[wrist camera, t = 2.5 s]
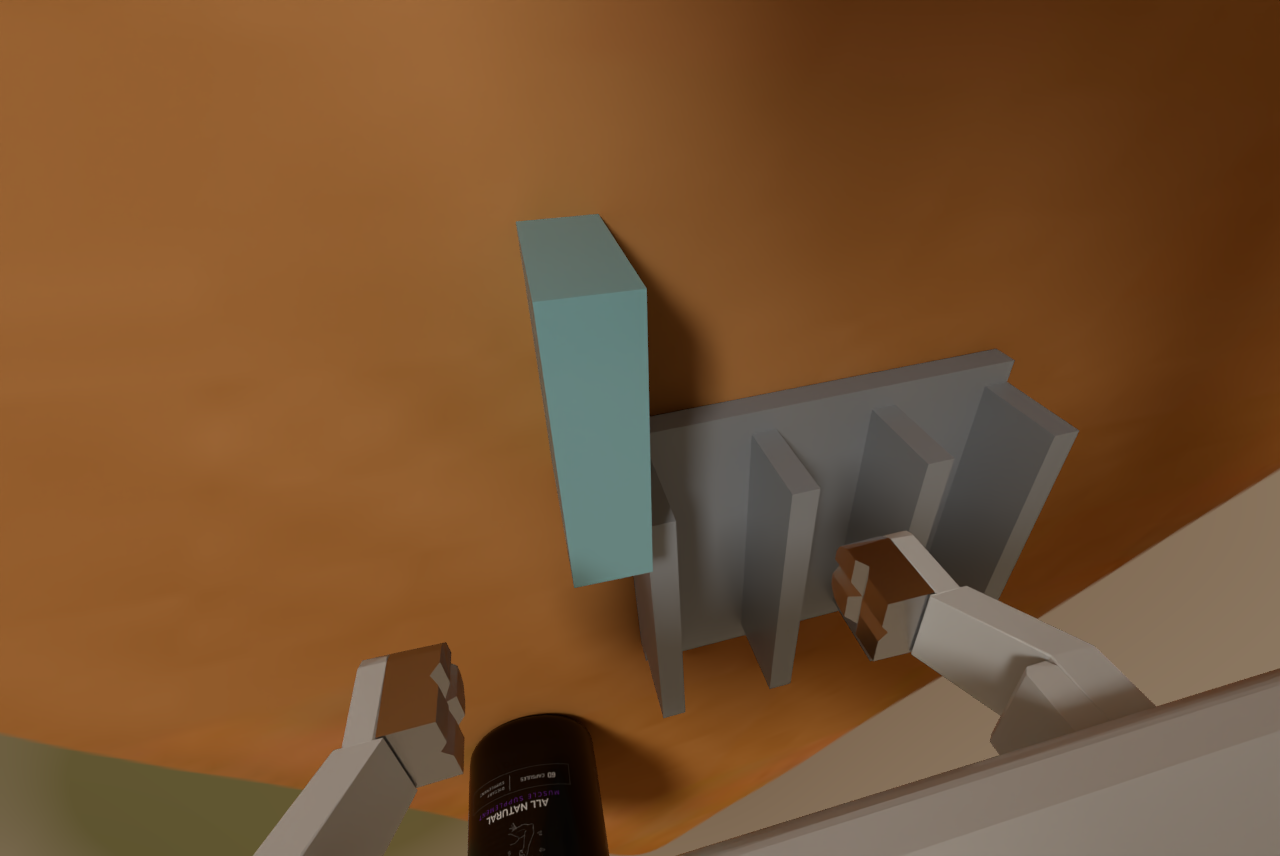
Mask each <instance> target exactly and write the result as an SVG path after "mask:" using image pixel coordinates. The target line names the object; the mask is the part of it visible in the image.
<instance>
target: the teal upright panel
mask: <svg viewBox="0 0 1280 856" xmlns="http://www.w3.org/2000/svg"><path fill="white" fill-rule="evenodd" d="M516 226H517V233H518V239H519V246H520V253H521V259H522V266H523V272H524V279H525V286H526V292H527V299H528V305H529V312H530V319H531V325H532V332H533V339H534V345H535V352H536V358H537V365H538V372H539V378H540V385H541V391H542V398H543V405H544V411H545V418H546V425H547V431H548V438H549V444H550V451H551V458H552V464H553V470H554V476H555V481H556V487H557V493H558V498H559V504H560V510H561V516H562V521H563V527H564V533H565V538H566V544H567V550H568V555H569V561H570V567H571V572H572V578H573V584H574V588H576V587H581V586H586V585H591V584H596V583H601V582H606V581H610V580H615V579H620V578H625V577H630V576H635V575H640V574H644V573H649V572H653V558H652V512H651V465H650V419H649V373H648V327H647V288H646V287H645V285H644V284H643V282H642V281H641V279H640V278H639V276H638V274H637V273H636V271H635V270H634V268H633V267H632V265H631V264H630V262H629V261H628V259H627V257H626V256H625V254H624V253H623V251H622V250H621V248H620V247H619V245H618V243H617V242H616V240H615V239H614V237H613V236H612V234H611V233H610V231H609V230H608V228H607V226H606V225H605V223H604V222H603V220H602V219H601V217H600V216H599V214H593V215H583V216H572V217H561V218H550V219H540V220H529V221H518V222H516Z"/></svg>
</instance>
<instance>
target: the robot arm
mask: <svg viewBox="0 0 1280 856" xmlns="http://www.w3.org/2000/svg"><path fill="white" fill-rule="evenodd" d="M835 559H836V561H837V562H838V564H839V567H838V568H837V569H836V570H835V571H834V572H833V574H832V583H831V585H832V590H833V595H834V598H835V600H836V603H837V605H838V607H839V609H840V610H841V612H842V613H843V615H844V616H845V617H846V618H848V619H850V620H852V621H853V622H855V623H857V626H856V635H857V637H858V639H859V640H860V642H861V643H862V645H863V646H864V648H865V649H866V651H867V652H868V654H869V655H870V657H871V659H872V660H873V661H876V660H880V659H884V658H888V657H893V656H897V655H901V654H905V653H909V652H912V653H911V654H912V655H913V656H914V657H916V658H917V659H919V660H920V661H922V662H923V663H925V664H926V665H928V666H929V667H930V668H932V669H933V670H935V671H936V672H938V673H939V674H941V675H942V676H944V677H945V678H946V679H948V680H949V681H951V682H952V683H954V684H955V685H957V686H958V687H959V688H961V689H962V690H964V691H965V692H967V693H968V694H970V695H971V696H973V697H974V698H975V699H977V700H978V701H980V702H981V703H983V704H984V705H986V706H987V707H989V708H990V709H991V710H993V711H994V712H996V713H998V714H999V715H1000V716H1001V717H1000V719H999V720H998V722H997V724H996V726H995V728H994V730H993V732H992V734H991V739H990V742H991V744H992V745H993V747H994V748H995V749H996V751H997V752H998V753H999V756H995V757H992V758H989V759H986V760H983V761H979V762H976V763H973V764H970V765H966V766H964V767H960V768H957V769H954V770H950V771H947V772H944V773H941V774H938V775H934V776H931V777H928V778H925V779H921V780H918V781H915V782H912V783H908V784H905V785H902V786H899V787H896V788H892V789H889V790H886V791H883V792H880V793H876V794H873V795H870V796H867V797H863V798H860V799H857V800H854V801H850V802H848V803H844V804H841V805H838V806H835V807H831V808H828V809H825V810H822V811H818V812H815V813H812V814H809V815H806V816H802V817H799V818H796V819H793V820H789V821H786V822H783V823H780V824H776V825H773V826H770V827H767V828H763V829H760V830H757V831H754V832H751V833H747V834H744V835H741V836H738V837H734V838H731V839H728V840H725V841H722V842H719V843H716V844H712V845H709V846H706V847H702V848H699V849H696V850H693V851H689V852H686V853H683V854H680V855H677V856H1280V668H1279V669H1276V670H1273V671H1269V672H1267V673H1263V674H1260V675H1257V676H1253V677H1250V678H1247V679H1244V680H1240V681H1237V682H1234V683H1231V684H1228V685H1224V686H1221V687H1218V688H1215V689H1212V690H1208V691H1205V692H1202V693H1199V694H1195V695H1193V696H1189V697H1186V698H1182V699H1179V700H1177V701H1173V702H1170V703H1166V704H1163V705H1160V706H1157V707H1156V706H1155V705H1154V704H1153V703H1152V702H1151V701H1150V700H1149V699H1148V698H1147V697H1146V696H1145V695H1144V694H1143V693H1142V692H1141V691H1140V690H1139V689H1138V688H1137V687H1136V686H1135V685H1134V684H1133V683H1132V682H1131V681H1130V680H1129V679H1128V678H1127V677H1126V676H1125V675H1124V674H1123V673H1122V672H1121V671H1120V670H1119V669H1118V668H1116V667H1115V666H1114V665H1113V664H1112V663H1111V662H1110V661H1109V660H1108V659H1107V658H1106V657H1105V656H1104V655H1103V654H1102V653H1101V652H1100V651H1099V650H1098V649H1097V648H1096V647H1095V646H1094V645H1092V644H1090V643H1087V642H1085V641H1083V640H1081V639H1079V638H1077V637H1075V636H1072V635H1070V634H1068V633H1066V632H1064V631H1062V630H1060V629H1058V628H1056V627H1053V626H1051V625H1049V624H1047V623H1045V622H1043V621H1041V620H1038V619H1036V618H1034V617H1032V616H1030V615H1028V614H1026V613H1024V612H1021V611H1019V610H1017V609H1015V608H1013V607H1011V606H1009V605H1007V604H1004V603H1002V602H1000V601H998V600H996V599H994V598H992V597H989V596H987V595H985V594H983V593H981V592H979V591H977V590H975V589H972V588H970V587H968V586H963V587H959V585H958V584H957V583H956V582H955V581H954V580H953V579H952V578H951V577H950V575H949V574H948V573H947V572H946V571H945V570H944V569H943V568H942V566H941V565H940V564H939V563H938V562H937V561H936V560H935V559H934V558H933V556H932V555H931V554H930V553H929V552H928V551H927V550H926V549H925V548H924V546H923V545H922V544H921V543H920V542H919V541H918V540H917V539H916V538H915V536H914V535H913V534H912V533H910V532H908V531H901V532H897V533H893V534H889V535H885V536H878V537H874V538H870V539H866V540H863V541H859V542H855V543H851V544H847V545H843V546H840V547H839V548H838V549H837V551H836V557H835ZM464 716H465V694H464V685H463V681H462V677H461V673H460V671H459V669H458V666H456V665H454V664H452V663H451V651H450V649H449V647H448V645H447V643H446V642H445V643H440V644H435V645H431V646H426V647H421V648H417V649H412V650H407V651H403V652H398V653H393V654H389V655H384V656H380V657H376V658H372V659H367V660H363V661H362V662H361V664H360V666H359V668H358V670H357V674H356V679H355V684H354V689H353V694H352V699H351V704H350V709H349V714H348V719H347V724H346V729H345V734H344V739H343V744H342V748H340V749H336V750H333V751H332V753H331V754H330V755H329V757H328V758H327V759H326V761H325V762H324V763H323V764H322V766H321V767H320V768H319V770H318V771H317V772H316V774H315V775H314V776H313V778H312V779H311V780H310V782H309V783H308V784H307V785H306V787H305V788H304V789H303V791H302V792H301V793H300V795H299V796H298V797H297V799H296V800H295V801H294V803H293V804H292V805H291V807H290V808H289V809H288V811H287V812H286V813H285V814H284V816H283V817H282V818H281V820H280V821H279V822H278V824H277V825H276V826H275V828H274V829H273V830H272V832H271V833H270V834H269V835H268V837H267V838H266V839H265V841H264V842H263V843H262V845H261V846H260V847H259V849H258V850H257V851H256V853H255V854H254V855H253V856H383V855H384V853H385V851H386V849H387V847H388V846H389V844H390V842H391V840H392V838H393V836H394V834H395V832H396V830H397V829H398V827H399V825H400V823H401V821H402V819H403V817H404V815H405V813H406V811H407V809H408V808H409V806H410V804H411V802H412V800H413V798H414V796H415V794H416V792H417V789H416V788H417V787H421V786H424V785H427V784H431V783H434V782H437V781H440V780H444V779H447V778H450V777H454V776H457V775H460V774H463V770H464V736H463V734H462V732H461V730H460V728H459V723H460V722H461V720H462V719H463V717H464Z"/></svg>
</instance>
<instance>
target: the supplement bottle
mask: <svg viewBox="0 0 1280 856" xmlns="http://www.w3.org/2000/svg"><path fill="white" fill-rule="evenodd" d="M468 856H609V850H608V843H607V836H606V829H605V822H604V815H603V809H602V802H601V795H600V788H599V781H598V774H597V767H596V761H595V755H594V749H593V742H592V738H591V736H590V733H589V732H588V730H587V729H586V728H585V727H584V726H583V725H582V724H581V723H579V722H577V721H576V720H574V719H571V718H568V717H564V716H558V715H538V716H530V717H525V718H521V719H517V720H514V721H511V722H508V723H506V724H504V725H501V726H499V727H498V728H496V729H494V730H493V731H491V732H490V733H488V734H487V735H486V736H485V737H484V738H483V739H482V740H481V741H480V742H479V743H478V745H477V746H476V748H475V749H474V751H473V754H472V757H471V762H470V781H469V820H468Z"/></svg>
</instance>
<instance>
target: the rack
mask: <svg viewBox="0 0 1280 856" xmlns="http://www.w3.org/2000/svg"><path fill="white" fill-rule="evenodd" d="M1014 361H1015V360H1013V359H1012V358H1010V357H1009V356H1007V355H1005V354H1004V353H1002V352H1001V351H999V350H997V349H993V350H988V351H983V352H978V353H973V354H968V355H962V356H957V357H952V358H947V359H942V360H937V361H932V362H927V363H921V364H916V365H911V366H906V367H901V368H896V369H891V370H886V371H881V372H875V373H870V374H865V375H860V376H855V377H850V378H845V379H840V380H835V381H829V382H824V383H819V384H814V385H809V386H804V387H799V388H794V389H788V390H783V391H778V392H773V393H768V394H763V395H758V396H753V397H748V398H742V399H737V400H732V401H727V402H722V403H717V404H712V405H707V406H702V407H696V408H691V409H686V410H681V411H676V412H671V413H666V414H661V415H655V416H650V417H649V419H650V465H651V512H652V558H653V572H649V573H644V574H640V575H635V576H633V577H634V585H635V593H636V601H637V610H638V618H639V626H640V635H641V643H642V647H643V651H644V654H645V658H646V660H648V663H649V666H650V670H651V674H652V677H653V681H654V685H655V688H656V692H657V696H658V700H659V703H660V707H661V711H662V714H663V718H666V717H669V716H673V715H677V714H680V713H684V712H685V697H684V676H683V656H682V651H685V650H689V649H693V648H697V647H701V646H704V645H708V644H712V643H716V642H720V641H724V640H728V639H731V638H735V637H739V636H743V635H746V636H747V639H748V641H749V643H750V645H751V648H752V650H753V652H754V654H755V657H756V659H757V661H758V664H759V666H760V668H761V670H762V673H763V675H764V677H765V679H766V682H767V684H768V686H769V688H770V689H771V688H775V687H778V686H782V685H786V684H789V683H790V682H791V675H792V669H793V662H794V656H795V650H796V643H797V637H798V630H799V624H800V621H801V620H805V619H809V618H813V617H817V616H820V615H824V614H828V613H832V612H836V611H839V612H840V613H841V615H842V617H843V618H844V620H845V621H846V623H847V625H848V626H849V628H850V629H851V631H852V633H853V634H854V636H855V638H856V639H857V641H858V642H859V644H860V646H861V647H862V649H863V650H864V652H865V654H866V655H867V657H868V659H869V660H870V661H873V660H872V659H871V657H870V655H869V654H868V652H867V651H866V649H865V648H864V646H863V645H862V643H861V642H860V640H859V639H858V637H857V635H856V626H857V623H855V622H853V621H852V620H850V619H848V618H846V617H845V616H844V615H843V613H842V612H841V610H840V609H839V607H838V605H837V603H836V600H835V598H834V595H833V590H832V585H831V583H832V574H833V572H834V571H835V570H836V569H837V568H838V567H839V564H838V562H837V561H836V559H835V557H836V551H837V549H838V548H839V547H840V546H843V545H847V544H851V543H855V542H859V541H863V540H866V539H870V538H874V537H878V536H885V535H889V534H893V533H897V532H901V531H908V532H910V533H912V534H913V535H914V536H915V538H916V539H917V540H918V541H919V542H920V543H921V544H922V545H923V546H924V548H925V549H926V550H927V551H928V552H929V553H930V554H931V555H932V556H933V558H934V559H935V560H936V561H937V562H938V563H939V564H940V565H941V566H942V568H943V569H944V570H945V571H946V572H947V573H948V574H949V575H950V577H951V578H952V579H953V580H954V581H955V582H956V583H957V584H958V585H959V587H963V586H968V587H970V588H972V589H975V590H977V591H979V592H981V593H983V594H985V595H987V596H989V597H992V598H994V599H996V600H998V599H999V597H1000V595H1001V593H1002V591H1003V589H1004V587H1005V585H1006V583H1007V581H1008V578H1009V576H1010V574H1011V572H1012V570H1013V568H1014V566H1015V564H1016V562H1017V560H1018V558H1019V555H1020V553H1021V551H1022V549H1023V547H1024V545H1025V543H1026V541H1027V539H1028V537H1029V535H1030V532H1031V530H1032V528H1033V526H1034V524H1035V522H1036V520H1037V518H1038V516H1039V514H1040V512H1041V509H1042V507H1043V505H1044V503H1045V501H1046V499H1047V497H1048V495H1049V493H1050V491H1051V488H1052V486H1053V484H1054V482H1055V480H1056V478H1057V476H1058V474H1059V472H1060V470H1061V468H1062V465H1063V463H1064V461H1065V459H1066V457H1067V455H1068V453H1069V451H1070V449H1071V447H1072V445H1073V442H1074V440H1075V438H1076V436H1077V434H1078V432H1079V430H1078V429H1076V428H1075V427H1073V426H1072V425H1070V424H1069V423H1067V422H1066V421H1064V420H1063V419H1061V418H1060V417H1058V416H1057V415H1055V414H1054V413H1052V412H1051V411H1049V410H1048V409H1046V408H1045V407H1043V406H1042V405H1040V404H1039V403H1038V402H1036V401H1035V400H1033V399H1032V398H1030V397H1029V396H1027V395H1026V394H1024V393H1023V392H1021V391H1020V390H1018V389H1017V388H1015V387H1014V386H1012V385H1011V384H1009V383H1008V382H1007V380H1008V377H1009V374H1010V372H1011V369H1012V366H1013V363H1014Z"/></svg>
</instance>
